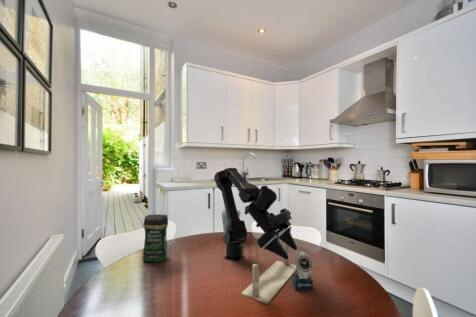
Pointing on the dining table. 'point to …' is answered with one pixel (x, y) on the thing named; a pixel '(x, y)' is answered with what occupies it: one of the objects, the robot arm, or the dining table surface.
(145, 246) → the coffee jar
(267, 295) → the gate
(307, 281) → the watch
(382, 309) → the dining table surface
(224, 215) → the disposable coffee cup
